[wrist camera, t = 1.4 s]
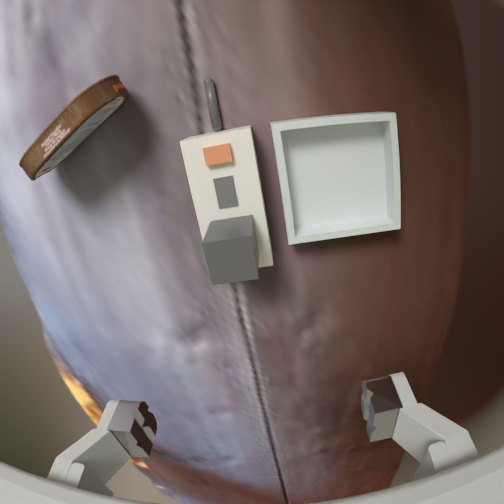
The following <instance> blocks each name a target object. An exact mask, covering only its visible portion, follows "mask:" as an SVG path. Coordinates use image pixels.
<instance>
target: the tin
mask: <svg viewBox="0 0 504 504" xmlns="http://www.w3.org/2000/svg"><path fill="white" fill-rule="evenodd" d="M128 96H129V94H128V91H127V89H126V88H125V87H124V85H123V84H122V82H121V81H120V80H119V77H118V76H117V75H112V76H108V77H106V78H104V79H101V80H99V81H97V82H96V83H94V84H92V85H91V86H89V87H88V88H87V89H85V90H84V91H82V92H81V93H80V94H79V95H77V96H76V97H75V98H74V99H73V100H72V101H71V102H70V103H69V104H68V105H67V106H66V107H65V108H64V109H63V110H62V111H61V112H60V113H59V114H58V115H57V116H56V117H55V118H54V119H53V121H52V122H51V123H50V124H49V125H48V126H47V127H46V128H45V130H44V131H43V132H42V133H41V134H40V135H39V136H38V138H37V139H36V140H35V141H34V142H33V143H32V145H31V146H30V147H29V148H28V149H27V151H26V152H25V153H24V155H23V156H22V158H21V160H20V163H19V165H20V167H22V168H23V170H24V171H25V173H26V174H27V175H28V177H29V178H30V179H31V180H33V181H34V180H35V179H36V178H38V177H40V176H41V175H43V174H45V173H47V172H49V171H51V170H52V169H53V168H55V167H56V166H57V165H58V164H59V163H61V162H62V161H63V160H64V159H65V158H66V157H67V156H68V155H70V154H71V153H72V152H73V151H74V150H75V149H76V148H77V147H78V146H79V145H80V144H81V143H82V142H83V141H84V140H85V139H86V138H87V137H88V136H90V135H91V134H92V133H93V132H94V131H95V130H96V129H97V128H98V127H99V126H100V125H101V124H102V123H104V122H105V121H106V120H107V119H108V118H109V117H110V116H111V115H112V114H114V113H115V112H116V111H117V110H118V109H119V108H120V107H121V106H122V105H123V104H124V102H125V101H126V100H127V98H128Z"/></svg>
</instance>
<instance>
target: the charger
mask: <svg viewBox="0 0 504 504" xmlns="http://www.w3.org/2000/svg"><path fill="white" fill-rule="evenodd" d="M202 245H203V249H204V253H205V257H206V260H207V264H208V268H209V272H210V276H211V280H212V283H213V285H217V284H225V283H232V282H240V281H248V280H255V279H259V250H258V244H257V238H256V233H255V227H254V222H253V216H252V215H247V216H240V217H234V218H228V219H221V220H215V221H210V224H209V226H208V229H207V232H206V234H205V237H204V240H203V242H202Z"/></svg>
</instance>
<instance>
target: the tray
mask: <svg viewBox="0 0 504 504" xmlns="http://www.w3.org/2000/svg"><path fill="white" fill-rule="evenodd" d="M270 127H271V133H272V139H273V145H274V151H275V157H276V164H277V170H278V177H279V183H280V190H281V197H282V204H283V211H284V218H285V225H286V232H287V238H288V243H289V245H291V244H298V243H305V242H312V241H319V240H326V239H333V238H340V237H347V236H354V235H361V234H368V233H375V232H382V231H389V230H396V229H401V193H400V163H399V146H398V132H397V121H396V113H392V112H367V113H352V114H339V115H328V116H318V117H308V118H300V119H292V120H284V121H277V122H270Z"/></svg>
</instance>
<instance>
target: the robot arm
mask: <svg viewBox="0 0 504 504" xmlns="http://www.w3.org/2000/svg"><path fill="white" fill-rule="evenodd" d="M362 390H363V394H362V395H361V408H362V413H363V417H364V419H365V420H366V421H367V427H366V429H367V433H368V436H369V440H370V442H373V441H378V440H382V439H387V438H391V437H392V439H393V440H395V441H396V442H397V443H398V444H399V445H400V446H402V447H403V448H404V449H405V450H406V451H407V452H408V453H410V454H411V455H412V456H413V457H414V458H416V459H417V460H418V461H419V462H420V463H421V464H420V466H419V468H418V470H417V472H416V474H415V476H414V481H413V482H409V483H406V484H403V485H399V486H395V487H392V488H388V489H384V490H380V491H376V492H371V493H367V494H362V495H358V496H353V497H347V498H342V499H336V500H330V501H323V502H316V503H308V504H504V445H502V446H501V447H499V448H496V449H495V450H492V451H490V452H488V453H486V454H484V455H482V456H479V455H478V453H477V451H476V449H475V446H474V444H473V442H472V440H471V438H470V435H469V433H468V431H467V430H465V429H464V428H462V427H460V426H459V425H457V424H455V423H454V422H452V421H450V420H448V419H447V418H445V417H444V416H442V415H440V414H439V413H437V412H435V411H434V410H432V409H431V408H429V407H427V406H425V405H424V404H422V403H419V404H418V403H417V401H416V399H415V396H414V394H413V392H412V390H411V387H410V385H409V383H408V381H407V379H406V376H405V374H404V373H403V372H400V373H396V374H392V375H386V376H382V377H378V378H374V379H369V380H365V381H363V383H362ZM147 410H148V405H147V404H146V402H143V401H126V400H110V401H109V402H108V403H107V405H106V408H105V410H104V412H103V415H102V417H101V419H100V421H99V424H98V426H97V429H93V430H91V431H90V432H89V433H87V434H86V435H85V436H83V437H82V438H81V439H80V440H78V441H77V442H76V443H74V444H73V445H72V446H71V447H69V448H68V449H66V450H65V451H64V452H62V453H61V454H60V455H58V456H57V457H56V459H55V462H54V464H53V466H52V468H51V470H50V473H49V475H48V477H47V479H45V478H42V477H39V476H36V475H33V474H30V473H28V472H25V471H22V470H20V469H17V468H15V467H12V466H10V465H7V464H5V463H3V462H0V504H157V503H149V502H141V501H136V500H130V499H123V498H118V497H113V492H112V491H111V490H110V489H109V488H108V487H107V486H106V485H105V484H106V483H107V482H108V481H109V480H110V479H111V478H112V477H113V475H115V474H116V473H117V471H118V470H119V469H120V468H121V467H122V466H123V465H124V464H125V463H126V462H127V461H128V460H129V459H130V458H131V456H138V457H150V453H151V449H152V446H153V444H152V442H151V439H152V438H153V437H154V436H155V435H156V431H157V423H156V419H155V417H154V415H153V414H152V413H150V412H149V411H147Z"/></svg>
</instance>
